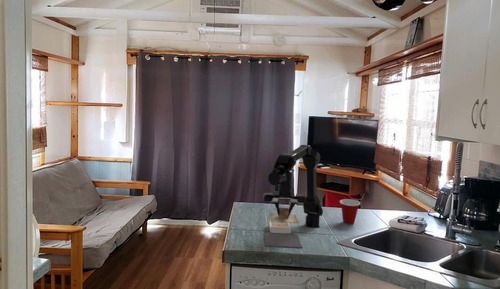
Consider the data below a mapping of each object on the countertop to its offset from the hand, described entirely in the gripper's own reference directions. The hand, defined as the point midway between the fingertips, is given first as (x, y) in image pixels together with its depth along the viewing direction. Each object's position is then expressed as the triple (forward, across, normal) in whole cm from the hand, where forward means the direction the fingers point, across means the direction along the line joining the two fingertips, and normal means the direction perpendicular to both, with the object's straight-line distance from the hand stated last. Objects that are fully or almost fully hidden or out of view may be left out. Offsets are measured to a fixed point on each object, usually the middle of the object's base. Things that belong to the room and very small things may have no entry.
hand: (283, 216), depth 166 cm
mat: (+11, 0, 0) cm, 11 cm away
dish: (+12, 0, -16) cm, 20 cm away
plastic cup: (+12, -39, -34) cm, 53 cm away
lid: (+1, 0, 0) cm, 1 cm away
